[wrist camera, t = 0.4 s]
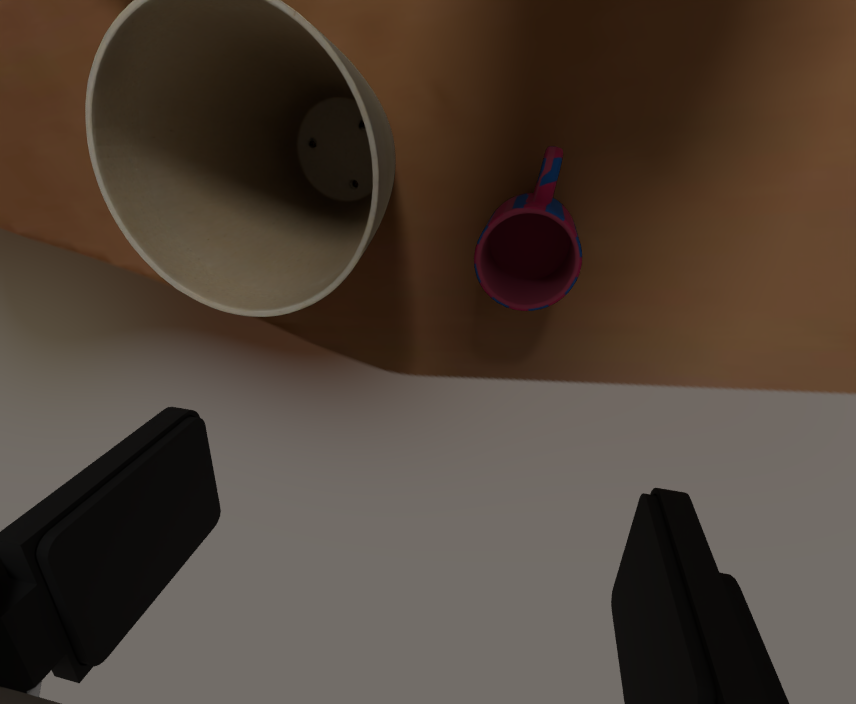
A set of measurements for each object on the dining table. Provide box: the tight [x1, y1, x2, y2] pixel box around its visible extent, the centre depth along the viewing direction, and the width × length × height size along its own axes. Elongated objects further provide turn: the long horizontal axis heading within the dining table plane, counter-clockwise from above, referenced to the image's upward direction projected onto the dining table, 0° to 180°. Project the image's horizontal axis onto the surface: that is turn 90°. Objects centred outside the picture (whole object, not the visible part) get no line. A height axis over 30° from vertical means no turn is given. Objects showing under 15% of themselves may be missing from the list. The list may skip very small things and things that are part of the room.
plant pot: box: [85, 0, 395, 317], centre depth 30 cm, size 15×15×16 cm
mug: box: [474, 146, 582, 311], centre depth 33 cm, size 7×10×7 cm
